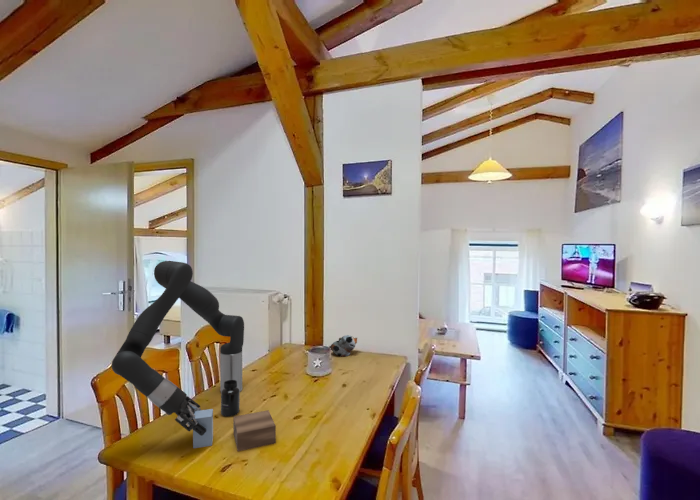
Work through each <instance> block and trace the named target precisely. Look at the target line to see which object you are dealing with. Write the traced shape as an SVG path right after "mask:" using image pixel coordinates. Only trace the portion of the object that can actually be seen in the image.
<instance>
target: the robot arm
mask: <svg viewBox="0 0 700 500" xmlns="http://www.w3.org/2000/svg"><path fill="white" fill-rule="evenodd" d="M193 275H194V272H193V268H192V266H191V265H190V264H188V262H187V263H186V262H182V261H174V260H163V261H161V262H159V263H158V264H156V265H155V267H154V270H153V276H154V279H155V281H156V283H157V284H159V285H160V286H161V287H163V288H164V289H165V290H164V291H163V292H162V294H161V295H160V296H159V297H158V298H157V299H156V300H154V301H153V302H152V303H151V304H150V305H148V307H147V308H145V309H144V310H143V311H142V312H141V313H140V314H139V316H138V317H137V318H136V320H135V321H134V323H133V325H132V326H131V328H130V330H129V332H128V334H127V336H126V338H125V340H124V341H123V343H122V345H121V347H120V348H119V350H118V351H117V353H116V354H115V356H114V358H113V359H112V361H111V365H110V367H111V369H112V371H113V372H114V374H116V375H118V376H120V377H122V378H123V379H125V380H126V381H127V382H129V383H130V384H131V385H133V386H134V388H135V389H137V391H139V392H140V393H141V394H142V395H144V396H145V397H146V398H147V399H149V401H150V402H151V403H153V404H154V406H156V407H158V409H160V410H162V412H164V413H165V414H166V415H168V416H171V415H172V414H176V418H175V419H174V421H175V422H176V423H178V425H180V426H182V427H183V428H184V429H185V430H186V431H188V432H191V431H193V430H194V431H196V432H197V433H198V434H199V435H201V436H202V435H204V433H205V432H206V430H207V429H206V428H204V427H203V426H202V425H201V424H199V423H198V422H197V421H196V419H195V415H194V413H195V411H199V410H202V409H201V405H200V404H198V403H197V402H196V401H195V400H193V399H192V398H191V397H189V396H188V395H187V393H186V392H185V391H183V390H182V389H181V388H180V387H179V386H178V385H176V384H174V383H173V382H172V381H171V380H169V379H168V378H165V377H164V376H163V375H162V374H161V373H159V372H158V371H157V370H156V369H154V368H153V367H151V366H150V365H149V364H148V363H147V362H146V361H145V360H144V359H143V358H142V356H143V355H144V354H143V353H144V351H145V350H146V348H147V347H148V346H149V344H150V343H151V342H152V340H153V338H154V336H155V334H156V332H157V331H158V330H159V327H160V326H161V324H162V322H163V320H164V318H165V317H166V315H167V314H168V313H169V311H170V310H171V309H172V308H173V306H174V305H175V304H176V302H177V301H178V299H180V300H181V301H182V302H183V303H184V304H185V305H186V306H188V307H189V308H190V309H191V310H192V311H193V312H195V313H196V314H197V315H198V316H200V317H201V318H202V319H203V320H204V321H206V322H207V323H208V324H209V325H210V326H211V328H212V329H214V331H215V333H216V334H218V335H220V336H221V337H222V336H223V337H228V338H229V337H230V339H229V342H227V343H226V342H225V343H224V344H222V345H221V346H220V350H219V351H220V352H219V353H220V355H219V356H220V359H219V363H220V365H219V367H220V370H219V371H220V372H219V373H220V375H219V376H220V377H219V378H220V383H219V384H220V387H219V389H220V391H219V392H220V393H221V392H222V390H223V389H224V382H225V381H228V380H236V381H237V388H239V390H240V392H242V391H243V346H244V342H245V341H244V340H245V339H244V338H245V336H244V335H245V320H244V318H243V317H242V316H240V315H233V314H232V315H231V314H226V313H223V312H221V311H220V310H219V309H220V302H219V300H218V298H217V297H216V296H215V295H214V294H213V293H212V292H211V291H210V290H208V289H207V288H205V287H204V286H202V285H199V284H197V283H195V282H194V281H192V279H193Z"/></svg>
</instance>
